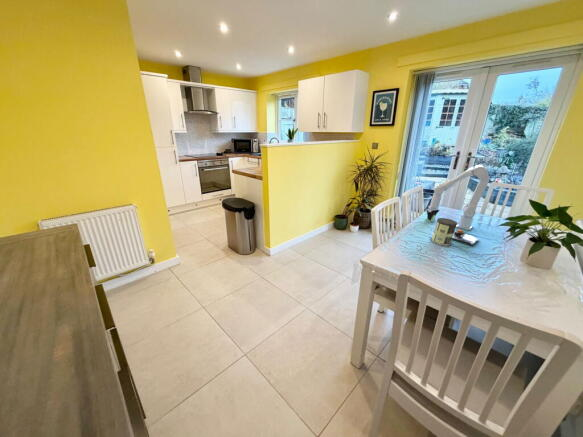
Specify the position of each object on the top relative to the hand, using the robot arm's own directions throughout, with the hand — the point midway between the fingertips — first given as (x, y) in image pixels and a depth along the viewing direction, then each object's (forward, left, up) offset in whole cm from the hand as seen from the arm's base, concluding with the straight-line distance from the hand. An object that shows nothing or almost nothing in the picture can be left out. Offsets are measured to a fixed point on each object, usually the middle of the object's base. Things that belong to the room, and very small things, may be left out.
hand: (430, 218), depth 174 cm
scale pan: (+19, +29, +2) cm, 35 cm away
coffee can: (+32, +19, -2) cm, 37 cm away
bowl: (0, 0, -1) cm, 1 cm away
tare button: (+13, +23, +1) cm, 26 cm away
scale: (+17, +27, -1) cm, 32 cm away
